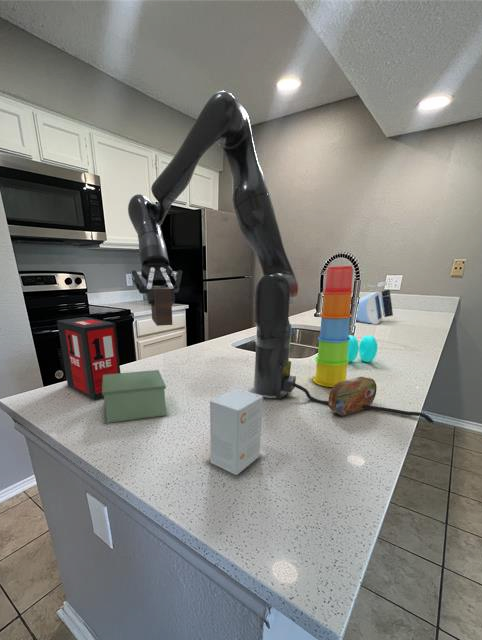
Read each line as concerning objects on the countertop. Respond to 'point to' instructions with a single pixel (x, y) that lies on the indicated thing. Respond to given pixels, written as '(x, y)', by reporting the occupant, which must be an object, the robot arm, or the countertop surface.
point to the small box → (235, 429)
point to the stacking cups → (334, 327)
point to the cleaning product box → (88, 353)
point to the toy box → (133, 395)
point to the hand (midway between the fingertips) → (162, 303)
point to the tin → (352, 395)
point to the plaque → (162, 306)
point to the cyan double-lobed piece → (362, 348)
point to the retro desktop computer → (374, 306)
